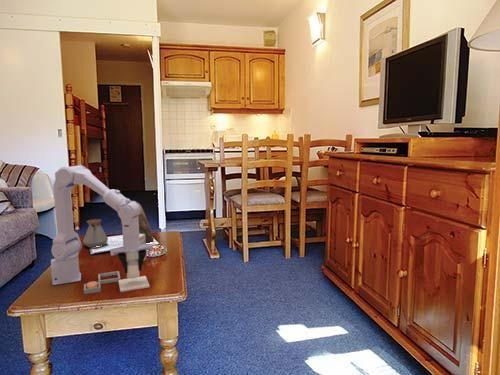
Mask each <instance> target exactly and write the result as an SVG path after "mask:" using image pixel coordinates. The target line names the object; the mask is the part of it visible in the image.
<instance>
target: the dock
mask: <svg viewBox="0 0 500 375" xmlns="http://www.w3.org/2000/svg"><path fill="white" fill-rule="evenodd" d="M112 275H113V276H117V277H115V278H114V277H113V278H107V279H101V278H103V277H104V278H105V277H111V276H112ZM97 277H98V279H97V280H98V281H97V282H98V287H95V288H89V289H87V283H83V295H89V294H95V293H101V292H102V288H101V285H105V284H111V283H119V282H118V280H121V276H120V271H119V270H118V271H117V270H116V271H110V272H104V273H98V275H97Z"/></svg>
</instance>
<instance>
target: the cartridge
mask: <svg viewBox="0 0 500 375" xmlns="http://www.w3.org/2000/svg"><path fill="white" fill-rule="evenodd" d="M126 267H127V273H126V279H129V278H130V279H132V278H137V277H140V271H139V260H138V259H129V260H127V259H126Z"/></svg>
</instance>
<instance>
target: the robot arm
mask: <svg viewBox="0 0 500 375" xmlns="http://www.w3.org/2000/svg"><path fill="white" fill-rule="evenodd" d="M54 178H55V180H54V182H53V185H52V186H53V188H52V189H53V199H54V210H55V219H56V220H55V221H56V230H57V232H56V233H57V234H56V235H55V236H54V238H53V239H52V246H51V250H50V251H51V254H52V256H53V257H54V258H52V259H50V269H51V270H50V271H51V282H52V284H51V285H52V286H56V285H62V284H69V283H76V282H81V280H82V273H81V272H80V264H79V263H80V262H79V254H80V251H81V249H82V246H83V245H82V244H83V243H82V242H81V239H80V236H79V233H77V231H75V228H74V227H75V226H74V219H73V218H74V217H73V215H74V214H73V206H72V195H71V191H72V189H73V188H75V187H76V186H77V185H82V186H83V185H85V186H86V187H88V188H89V189H91V190H93V191H94V192H95V193H97V194H98V195H100V196H101V197H102V199H103V202H104V203H105V204H107V205H108V206H109V207H110V208H112V210H114V211H116V212H117V216H118V217H119V218H120V221H121V226H122V229H121V230H122V245H123V246H117V247H113V248H110V250H109V252H110V256H115V255H117V256H118V259H119V261H120V262H121V264H122V266H123V269H124V274H127V267H126V261H127V255H126V254H127V253H130V252H138V257H139V272H141V271H142V268H143V263H144V261H145V260H144V258H145V256H146V257H147V251H153V248H154V247H153V244H140V240H139V220H138V215H139V214H140V212H141V207H142V206H141V207H140V205H141V204H140V203H139V202H137V201H136V200H131V199H130V198H128V197H125V195H123V194H122V193H121V190H119V189H113V188H112V189H110V188H109V187H107V185H105V184H104V183H103V182H102V181H100V180H99V179H98V178H97V177H96V176H95V175H94V174H92V171H91V170H90V169H89V168H86V167H85V166H84V165H83V164H77V165H72V166H63V167H60V168H59V169H57V171H55V172H54ZM138 203H139V204H140V205H139V204H138ZM136 216H137V217H136Z"/></svg>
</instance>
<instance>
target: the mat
mask: <svg viewBox="0 0 500 375" xmlns="http://www.w3.org/2000/svg"><path fill="white" fill-rule="evenodd" d="M117 283H118V287H119V292H120V293H123V292H129V291H135V290H136V291H137V290H140V289H141V290H142V289H146V288H150V284H149V281H148V278H147V276H146V275H142V276H139V277H137V278H132V279H130V278H123V279H120V280H118V282H117Z"/></svg>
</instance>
